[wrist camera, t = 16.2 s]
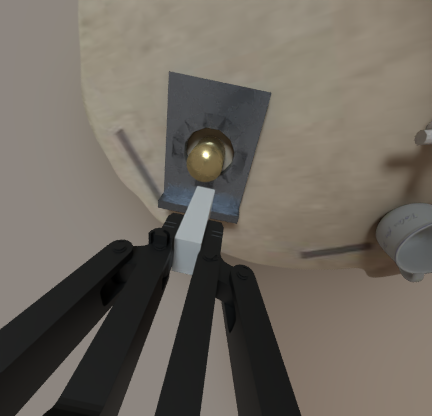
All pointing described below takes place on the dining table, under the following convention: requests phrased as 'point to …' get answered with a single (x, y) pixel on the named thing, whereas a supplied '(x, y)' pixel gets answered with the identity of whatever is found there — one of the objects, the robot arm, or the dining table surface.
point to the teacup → (408, 239)
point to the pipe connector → (424, 136)
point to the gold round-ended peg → (206, 159)
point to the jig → (216, 119)
